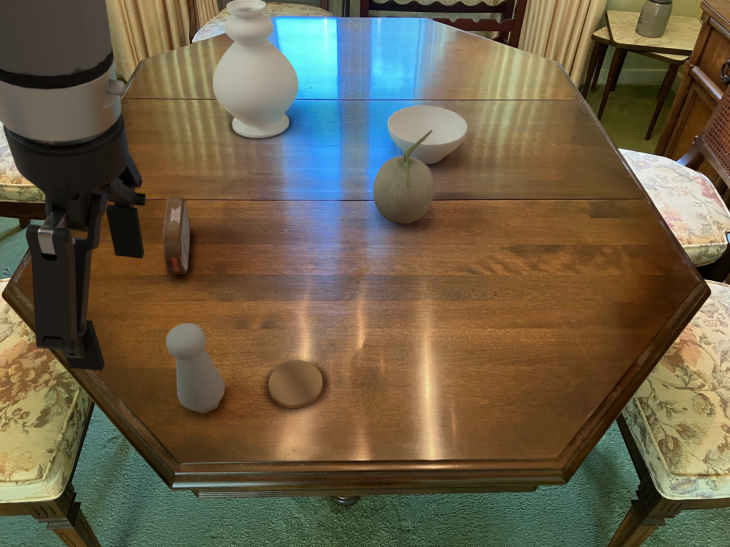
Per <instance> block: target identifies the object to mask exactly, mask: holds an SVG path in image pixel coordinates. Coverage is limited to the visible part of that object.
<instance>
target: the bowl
mask: <svg viewBox="0 0 730 547" xmlns="http://www.w3.org/2000/svg"><path fill="white" fill-rule="evenodd" d="M468 127H469V125H468V123H467V121H466V120H465V119H464V118H463V116H462V115H459V114H458V113H457V112H455V111H452V110H450V109H447V108H445V107H439V106H435V105H434V106H433V105H413V106H408V107H404V108H401V109H398V110H396V111H394V112H393V113H392V114H391V115H390V116H389V117H388V120H387V131H388V134H389V136H390V138H391V140H392V141H393V143H394V144H395V145H396V147H397V148H398V149H400V150H401V151H402V152H403V154H404V153H405V152H406V151H407V150H408V149H409V148H411V147H412V146H413V145H414V144H415V143H416V142H418V141H419V140H420V139H421V138H422V137H424V136H425V135H426V134H427V133H428V132H429V131H430V130H432V132H431V133H430V134H429V135H428V136H427V138H426V139H425V140H424V141H423V142H421V143H420V144H419V145H418V146H417V147H416V148H415V150H414V151H413V152H412V153H411V154H410V157H413V158H416V159H418V160H420V161H422V162H423V163H424V164H425V165H432V164H436V163H438V162H440V161H442V159H443V158H444V157H446V156H447V155H449V154H450V153H451V152H453V151H455V150H456V149H457V148H458V147H459V146H460V145H461V144H462V142H463V141H464V140H465V137H467V133H468Z"/></svg>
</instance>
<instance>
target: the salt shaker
mask: <svg viewBox="0 0 730 547" xmlns="http://www.w3.org/2000/svg"><path fill="white" fill-rule="evenodd" d="M165 338H166V339H165V345H166V348H167V351H168V352H169V354H170V355H171V357H174V358H175V364H176V365H175V366H176V367H175V368H176V369H175V370H176V397H177V398H178V401H179V403H180V405H181V406H183V407H184V408H186V409H187V410H190V411H193V412H196V413H199V414H202V415H204V414H207V413H209V412H211V411H213V410H215V409H217V408H218V406H219V405H220V401H221V399H222V398H223V397H224V395H225V390H226V389H225V388H226V382H225V380H224V378H223V376H222V374H221V373H220V371H219V370H218V368H217V367H216V365H215V363H214V361H213V359H212V358H211V357H210V355H209V353H208V351H207V350H206V345H207V336H206V333H205V332H204V330H203V329H202V326H200V325H198V324H196V323H194V322H193V323H192V322H191V323H190V322H185V323H181V324H177V325H176V326H175V327H173V328H171V329H170V331H169V332H168V333H167V334H166V337H165Z"/></svg>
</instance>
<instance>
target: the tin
mask: <svg viewBox="0 0 730 547" xmlns="http://www.w3.org/2000/svg"><path fill="white" fill-rule="evenodd" d="M164 213H165V214H164V221H163V222H164V223H163V228H162V249H163V258H164V264H165V269H166V272H167V275H168V276H169V277H170V276H177V275H185V274H187V272H188V269H189V259H190V247H191V226H190V225H191V223H190V217H189V215H188V209H187V199H186V198H185V197H184V196H183V197H182V196H181V197H179V196H178V197H177V196H175V197H171V196H168V197H167V200H166V206H165V212H164Z"/></svg>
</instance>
